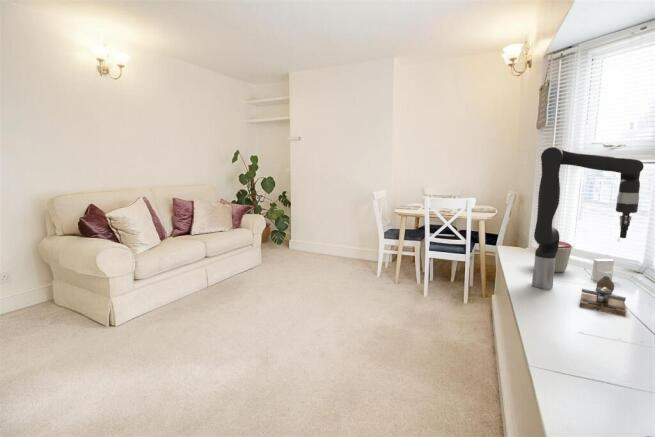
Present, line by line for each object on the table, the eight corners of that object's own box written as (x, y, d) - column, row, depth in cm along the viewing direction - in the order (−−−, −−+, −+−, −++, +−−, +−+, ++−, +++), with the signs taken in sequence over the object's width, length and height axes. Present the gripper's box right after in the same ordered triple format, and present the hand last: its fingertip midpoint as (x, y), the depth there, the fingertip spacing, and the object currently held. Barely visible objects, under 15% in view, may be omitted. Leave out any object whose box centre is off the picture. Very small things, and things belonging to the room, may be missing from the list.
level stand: (579, 306, 151) (580, 301, 151) (581, 296, 162) (581, 291, 161) (625, 315, 141) (626, 310, 141) (623, 304, 151) (624, 299, 151)
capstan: (622, 311, 140) (624, 298, 139) (578, 301, 152) (579, 289, 150) (626, 299, 151) (628, 287, 150) (585, 291, 163) (586, 279, 162)
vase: (616, 295, 162) (618, 279, 160) (600, 295, 163) (602, 278, 162) (607, 290, 168) (609, 274, 167) (592, 289, 170) (594, 274, 168)
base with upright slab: (603, 277, 187) (606, 257, 185) (616, 282, 178) (618, 262, 176) (587, 277, 188) (589, 257, 186) (598, 282, 179) (601, 262, 177)
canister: (568, 268, 205) (572, 235, 201) (571, 276, 190) (575, 242, 186) (535, 264, 214) (537, 233, 211) (535, 271, 199) (538, 239, 196)
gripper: (616, 200, 158) (612, 234, 161) (617, 203, 148) (612, 239, 151) (637, 201, 153) (632, 236, 156) (639, 204, 143) (634, 241, 146)
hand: (622, 237), depth 153 cm, fingers closed
